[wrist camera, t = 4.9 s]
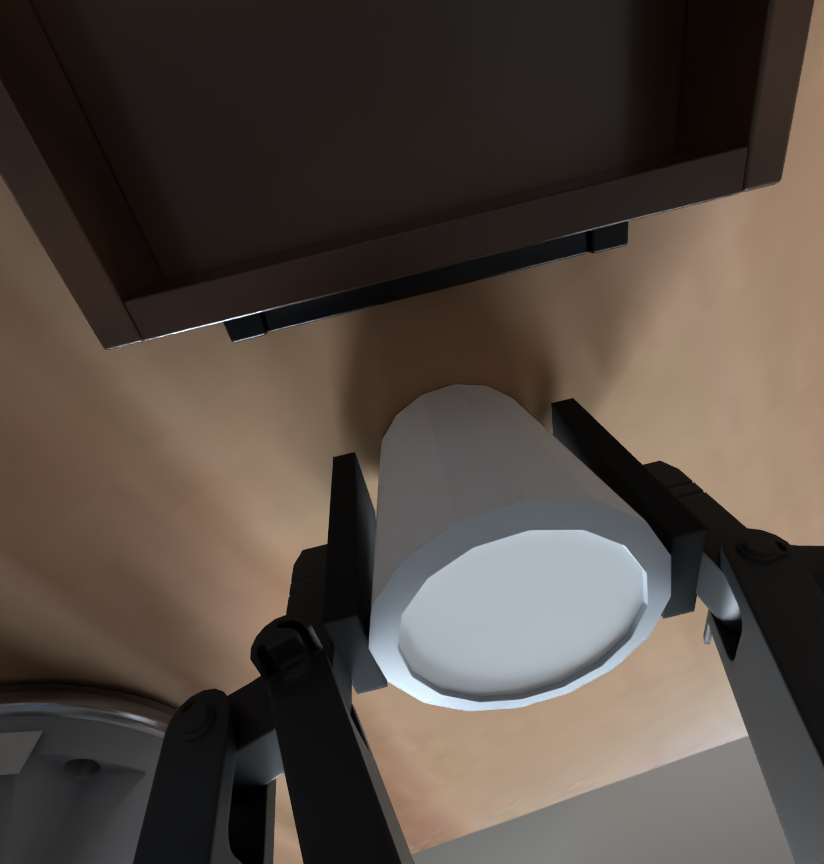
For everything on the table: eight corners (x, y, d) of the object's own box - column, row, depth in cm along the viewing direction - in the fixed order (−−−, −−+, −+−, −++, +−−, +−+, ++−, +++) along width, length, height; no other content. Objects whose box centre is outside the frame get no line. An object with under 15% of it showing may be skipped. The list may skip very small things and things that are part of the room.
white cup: (450, 322, 13) (533, 436, 7) (589, 436, 16) (735, 590, 10) (321, 476, 15) (302, 665, 9) (463, 555, 18) (519, 741, 12)
